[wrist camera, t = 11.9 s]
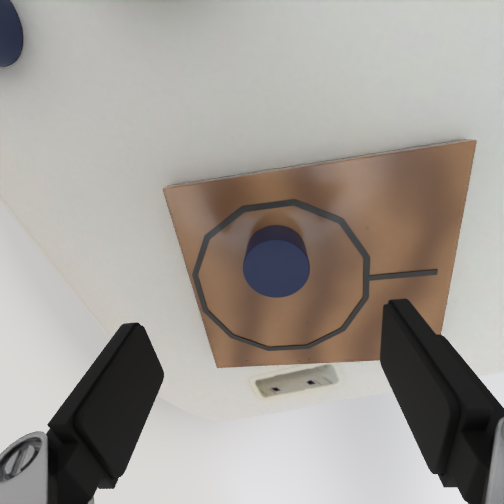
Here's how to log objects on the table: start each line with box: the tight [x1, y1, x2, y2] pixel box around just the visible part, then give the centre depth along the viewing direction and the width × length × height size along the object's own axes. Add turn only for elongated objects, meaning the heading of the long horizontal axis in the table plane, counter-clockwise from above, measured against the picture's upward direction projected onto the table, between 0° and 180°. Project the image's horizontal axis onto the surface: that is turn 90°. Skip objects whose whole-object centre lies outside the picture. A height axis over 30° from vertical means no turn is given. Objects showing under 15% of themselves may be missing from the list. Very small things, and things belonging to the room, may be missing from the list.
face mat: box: [163, 139, 476, 368], centre depth 19 cm, size 18×16×1 cm
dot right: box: [243, 225, 310, 298], centre depth 17 cm, size 4×4×2 cm
